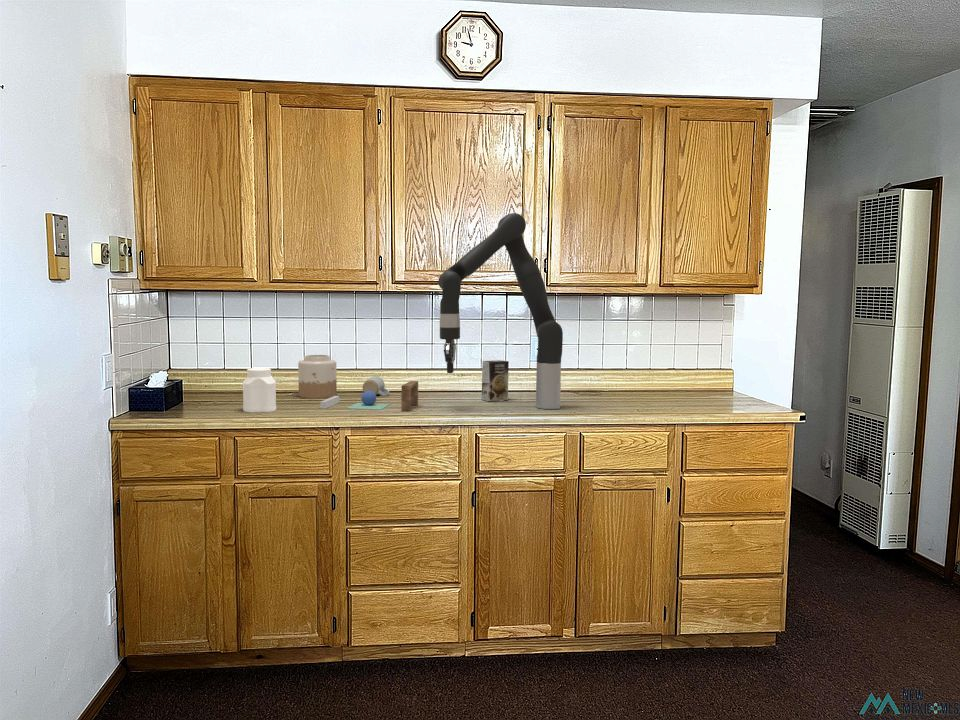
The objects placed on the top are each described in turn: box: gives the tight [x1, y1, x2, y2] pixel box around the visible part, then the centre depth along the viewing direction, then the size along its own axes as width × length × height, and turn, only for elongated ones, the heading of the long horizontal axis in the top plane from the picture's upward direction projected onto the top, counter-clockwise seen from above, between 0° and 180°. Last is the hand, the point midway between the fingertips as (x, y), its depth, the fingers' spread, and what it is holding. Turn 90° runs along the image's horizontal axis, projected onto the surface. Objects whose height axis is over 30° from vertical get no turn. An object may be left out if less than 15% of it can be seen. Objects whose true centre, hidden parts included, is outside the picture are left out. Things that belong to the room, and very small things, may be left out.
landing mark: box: [346, 402, 391, 411], centre depth 281 cm, size 13×13×1 cm
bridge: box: [400, 380, 419, 412], centre depth 278 cm, size 3×15×9 cm, turn 172°
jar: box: [242, 367, 277, 413], centre depth 269 cm, size 12×10×15 cm
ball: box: [361, 391, 377, 405], centre depth 283 cm, size 6×6×6 cm
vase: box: [297, 354, 338, 400], centre depth 305 cm, size 15×15×17 cm
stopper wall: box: [319, 395, 341, 410], centre depth 282 cm, size 2×16×2 cm, turn 172°
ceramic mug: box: [362, 375, 390, 397], centre depth 310 cm, size 11×8×8 cm
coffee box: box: [481, 359, 510, 402], centre depth 300 cm, size 9×6×16 cm
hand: (450, 372), depth 275 cm, fingers closed
